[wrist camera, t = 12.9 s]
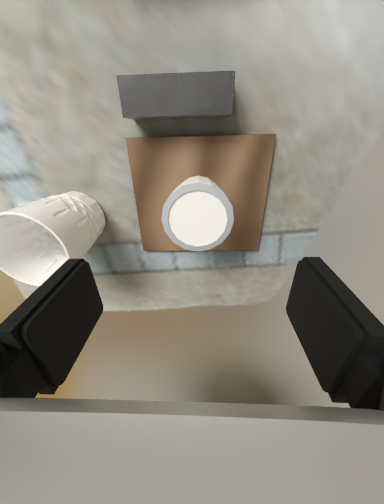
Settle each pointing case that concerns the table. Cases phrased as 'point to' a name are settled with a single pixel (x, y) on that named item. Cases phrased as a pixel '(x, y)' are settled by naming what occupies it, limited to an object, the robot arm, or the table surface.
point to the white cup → (48, 235)
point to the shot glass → (197, 215)
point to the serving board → (206, 165)
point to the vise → (177, 95)
